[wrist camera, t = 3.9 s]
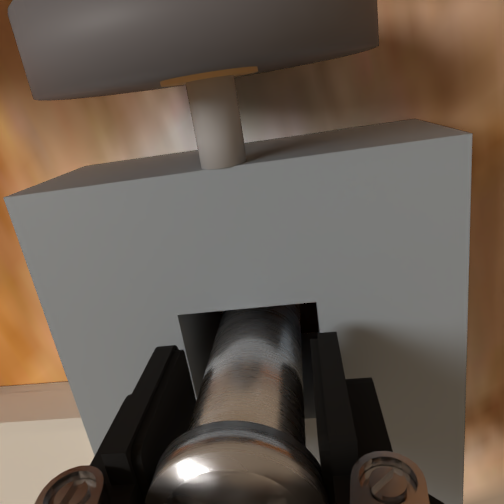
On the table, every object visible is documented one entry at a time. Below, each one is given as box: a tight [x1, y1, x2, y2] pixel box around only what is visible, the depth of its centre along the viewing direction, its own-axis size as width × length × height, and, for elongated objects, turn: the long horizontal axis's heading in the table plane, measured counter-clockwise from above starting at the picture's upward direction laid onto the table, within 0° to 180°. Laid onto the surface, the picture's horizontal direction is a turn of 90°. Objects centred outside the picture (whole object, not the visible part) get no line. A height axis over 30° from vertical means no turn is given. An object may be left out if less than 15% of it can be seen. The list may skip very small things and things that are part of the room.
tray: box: [0, 382, 94, 504], centre depth 21 cm, size 14×11×2 cm
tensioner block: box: [4, 0, 472, 504], centre depth 13 cm, size 12×16×8 cm
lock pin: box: [144, 304, 329, 504], centre depth 13 cm, size 4×4×10 cm
